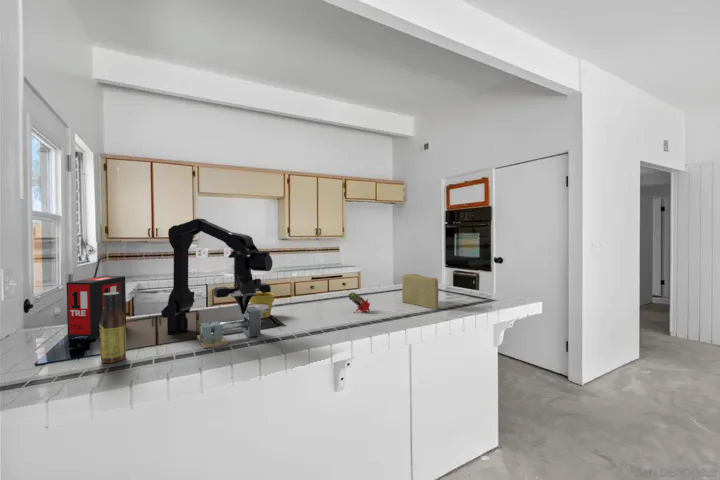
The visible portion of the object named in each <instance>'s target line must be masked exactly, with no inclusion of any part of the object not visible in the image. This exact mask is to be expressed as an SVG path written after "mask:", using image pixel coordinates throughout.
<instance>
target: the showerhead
mask: <svg viewBox="0 0 720 480" xmlns="http://www.w3.org/2000/svg"><path fill="white" fill-rule="evenodd" d="M253 306H254V307H256V308H257V309H259V310H260V319H264V318H263V313H264V312H267V311H268V310H269V306H267V305H264V304H255V305H251V304H248V305H247V307H253Z"/></svg>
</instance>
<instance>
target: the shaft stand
mask: <svg viewBox="0 0 720 480" xmlns="http://www.w3.org/2000/svg"><path fill="white" fill-rule="evenodd" d="M261 319H262V318H261ZM261 319H260V326H261V323H262V320H261ZM243 328H248V319H244V320H243V319H237V320H232V321H231V320H230V321H224V322H220V321H219V320H217V321H211V322H210V324H209V322H202V323H199V335H196V340H197V341H198V343H199V344H200V346H201V347H202V349H203V350H205V349H209V348H215V347H222V346H227V345H228V342H229V340H228V339H226V337H225V336H224V335H223V332H227V331H228V332H229V331H234V330H243ZM226 344H227V345H226ZM221 345H222V346H221ZM204 348H205V349H204Z"/></svg>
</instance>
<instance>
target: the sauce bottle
mask: <svg viewBox="0 0 720 480" xmlns="http://www.w3.org/2000/svg"><path fill="white" fill-rule="evenodd" d="M119 298H120V293H119V292H110V293H104V294H103V300H104V310H103V312H102V315H101V318H100V321H99V332H100V338H99V353H100V354H99V355H100V360H101V362H102V363H103V364H104V363H105V364H111V363H112V364H113V363H114V364H115V363H117V362H121V361H123V360H125V358H126V357H127V354H126V353H127V333H126V329H127V327H125V315H124V313H123V312H122V311H121V309H120V308H119V307H120V305H119Z"/></svg>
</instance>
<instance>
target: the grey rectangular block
mask: <svg viewBox="0 0 720 480" xmlns="http://www.w3.org/2000/svg"><path fill="white" fill-rule="evenodd" d="M244 319H248V328H242V333H244V334H245V335H246V336H247V337H248V338H252V337H253V338H254V337H257V336H259V337H260V336H261V325H260V310H259V309H257V308H256V307H254V306H253V307H247V308H246V311H245V314H242V320H244Z"/></svg>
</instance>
